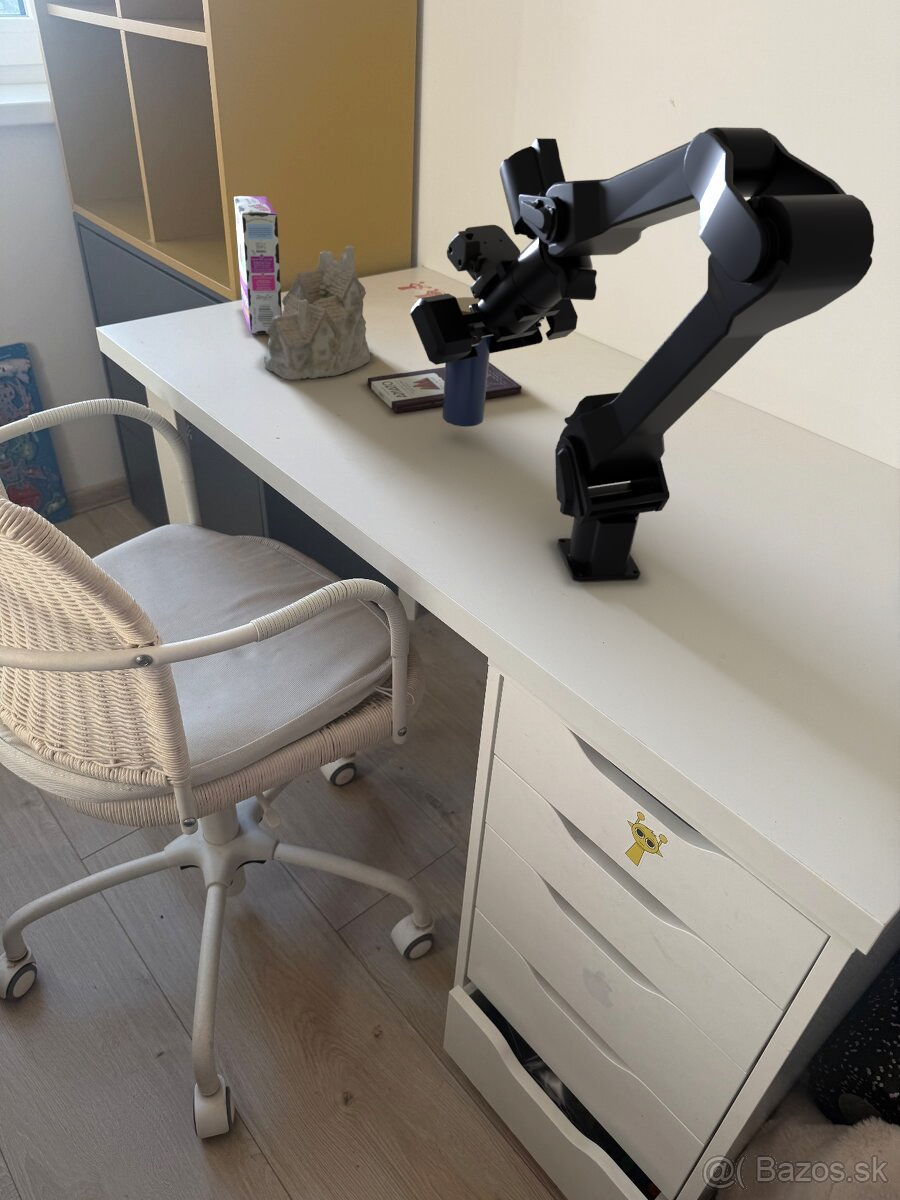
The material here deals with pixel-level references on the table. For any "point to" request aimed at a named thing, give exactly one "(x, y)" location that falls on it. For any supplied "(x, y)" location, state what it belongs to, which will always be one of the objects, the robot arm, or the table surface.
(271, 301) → the candy bar box
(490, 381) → the chocolate bar
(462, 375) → the blue canister
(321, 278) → the ceramic cottage
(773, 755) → the table surface
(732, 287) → the robot arm
